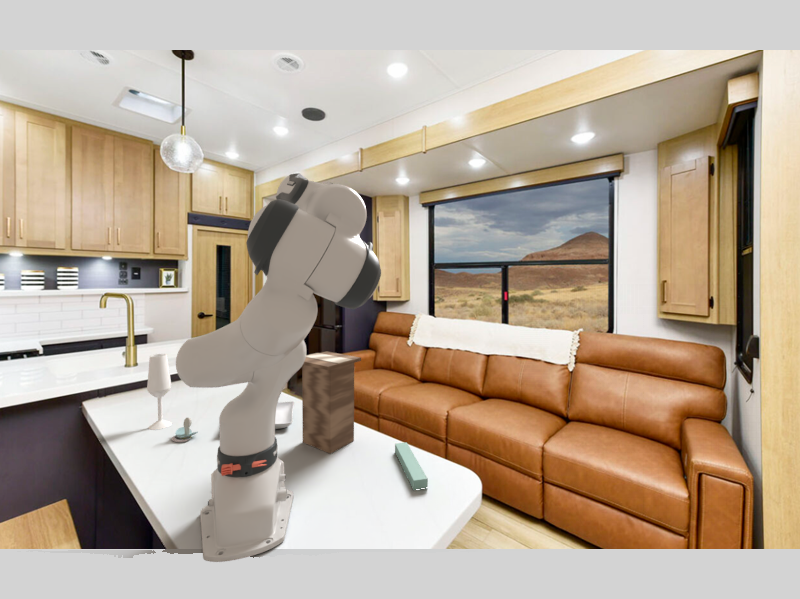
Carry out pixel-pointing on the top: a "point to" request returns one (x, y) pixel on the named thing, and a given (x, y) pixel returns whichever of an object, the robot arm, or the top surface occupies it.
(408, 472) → the bar
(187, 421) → the pacifier
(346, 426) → the stand
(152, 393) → the champagne flute
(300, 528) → the top surface
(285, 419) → the salad plate
